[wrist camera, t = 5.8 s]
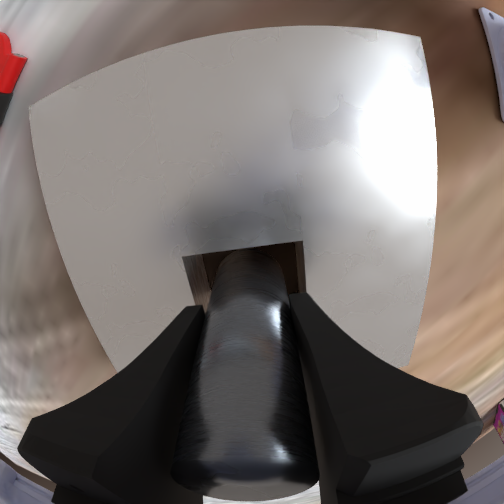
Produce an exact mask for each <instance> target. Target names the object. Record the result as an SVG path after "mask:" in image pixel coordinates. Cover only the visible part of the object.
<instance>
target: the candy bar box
mask: <svg viewBox="0 0 504 504" xmlns="http://www.w3.org/2000/svg"><path fill="white" fill-rule="evenodd" d="M493 425H494V427H495V429H496V430H497V432H498V434H499V436H500V438H501V439H502V442H503V443H504V399H503V400H502V401H501V402H500V403H499V404H498V408H497V412H496V417H495V421H494V424H493Z"/></svg>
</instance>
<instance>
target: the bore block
mask: <svg viewBox="0 0 504 504" xmlns="http://www.w3.org/2000/svg"><path fill="white" fill-rule="evenodd" d="M28 109H29V119H30V128H31V136H32V143H33V149H34V155H35V161H36V166H37V171H38V176H39V180H40V185H41V189H42V193H43V197H44V201H45V205H46V209H47V212H48V216H49V219H50V222H51V226H52V229H53V232H54V235H55V238H56V241H57V244H58V247H59V250H60V253H61V256H62V259H63V261H64V264H65V267H66V269H67V272H68V274H69V277H70V279H71V282H72V284H73V286H74V289H75V291H76V294H77V296H78V298H79V300H80V303H81V305H82V307H83V309H84V311H85V313H86V315H87V317H88V320H89V322H90V324H91V326H92V328H93V330H94V332H95V333H96V335H97V337H98V339H99V341H100V343H101V345H102V347H103V348H104V350H105V352H106V354H107V356H108V357H109V359H110V361H111V363H112V364H113V366H114V368H115V369H116V371H117V373H118V372H120V371H121V370H122V369H123V368H125V367H126V366H127V365H128V364H130V363H131V362H132V361H133V360H134V359H135V358H136V357H137V356H138V355H139V354H141V353H142V352H143V351H144V350H145V349H146V348H147V347H148V346H149V345H150V344H151V343H152V342H153V341H154V340H155V339H156V338H157V337H158V336H159V335H160V334H161V333H162V331H163V330H164V329H165V328H166V327H167V326H168V325H169V324H170V323H171V322H172V321H173V320H174V318H175V317H176V316H177V315H178V314H179V313H180V312H181V311H182V310H183V309H184V308H185V307H186V306H193V305H203V308H204V312H205V315H206V311H207V307H208V303H209V299H210V295H211V291H210V287H209V283H208V279H207V274H206V270H205V266H204V262H203V258H202V254H204V253H212V252H219V251H227V250H234V249H242V248H249V247H257V246H264V245H272V244H279V243H287V242H294V241H295V251H296V262H297V274H298V287H299V293H303V292H307V293H308V294H309V295H310V296H311V297H312V298H313V300H314V301H315V302H316V303H317V304H318V306H319V307H320V308H321V309H322V310H323V311H324V312H325V313H326V314H327V315H328V316H329V317H330V318H331V319H332V320H333V321H334V322H335V323H336V324H337V325H338V326H339V327H340V328H341V329H342V330H343V331H344V332H345V333H347V334H348V335H349V336H350V337H351V338H353V339H354V340H355V341H356V342H357V343H359V344H360V345H361V346H363V347H364V348H365V349H367V350H368V351H370V352H371V353H372V354H374V355H375V356H377V357H378V358H380V359H382V360H383V361H385V362H387V363H389V364H390V365H392V366H394V367H396V368H400V367H403V366H407V365H408V364H409V360H410V357H411V354H412V350H413V347H414V343H415V339H416V335H417V331H418V327H419V323H420V319H421V314H422V310H423V305H424V300H425V295H426V289H427V284H428V278H429V271H430V265H431V257H432V249H433V240H434V229H435V216H436V195H437V156H436V136H435V123H434V113H433V104H432V96H431V89H430V83H429V77H428V71H427V66H426V61H425V56H424V51H423V47H422V43H421V39H420V37H418V36H413V35H408V34H403V33H397V32H391V31H384V30H376V29H368V28H357V27H343V26H283V27H268V28H258V29H249V30H241V31H234V32H228V33H222V34H216V35H211V36H206V37H201V38H196V39H192V40H187V41H183V42H179V43H175V44H172V45H168V46H165V47H161V48H158V49H154V50H151V51H148V52H145V53H142V54H139V55H136V56H133V57H130V58H128V59H125V60H122V61H120V62H117V63H114V64H112V65H109V66H107V67H105V68H102V69H100V70H98V71H95V72H93V73H91V74H89V75H86V76H84V77H82V78H80V79H78V80H76V81H74V82H72V83H70V84H68V85H66V86H64V87H62V88H60V89H59V90H57V91H55V92H53V93H51V94H50V95H48V96H46V97H44V98H43V99H41V100H39V101H38V102H36V103H34V104H33V105H31V106H30V107H28ZM289 304H290V303H289Z"/></svg>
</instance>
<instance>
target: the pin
mask: <svg viewBox="0 0 504 504" xmlns="http://www.w3.org/2000/svg"><path fill="white" fill-rule="evenodd" d="M170 474H171V477H172V478H173V480H174V481H175V482H177V483H178V484H179V485H181V486H182V487H184V488H186V489H188V490H190V491H193V492H195V493H198V494H201V495H204V496H208V497H213V498H218V499H224V500H232V501H265V500H274V499H280V498H284V497H289V496H292V495H295V494H298V493H301V492H303V491H305V490H307V489H309V488H311V487H312V486H314V485H315V484H316V483H317V482H318V480H319V478H320V473H319V467H318V460H317V454H316V447H315V441H314V435H313V429H312V423H311V417H310V411H309V405H308V400H307V394H306V388H305V383H304V377H303V372H302V366H301V361H300V356H299V350H298V345H297V340H296V335H295V330H294V326H293V321H292V316H291V311H290V304H289V299H288V294H287V290H286V285H285V280H284V275H283V271H282V268H281V266H280V264H279V263H278V261H277V260H276V259H275V258H274V257H273V256H272V255H270V254H268V253H267V252H265V251H262V250H259V249H252V248H246V249H240V250H237V251H234V252H232V253H231V254H229V255H228V256H226V257H225V258H224V259H223V260H222V262H221V263H220V264H219V266H218V269H217V272H216V276H215V279H214V283H213V287H212V291H211V295H210V299H209V303H208V307H207V311H206V315H205V319H204V323H203V327H202V331H201V335H200V339H199V343H198V347H197V352H196V356H195V360H194V364H193V368H192V373H191V377H190V381H189V386H188V390H187V395H186V399H185V404H184V408H183V413H182V418H181V422H180V427H179V432H178V436H177V441H176V446H175V451H174V456H173V461H172V466H171V471H170Z"/></svg>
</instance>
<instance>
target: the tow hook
mask: <svg viewBox="0 0 504 504" xmlns="http://www.w3.org/2000/svg"><path fill="white" fill-rule="evenodd" d="M26 60H27V58H26V57H25V56H23V55H20V54H15V53H14V54H13V53H12V54H11V44H10V40H9V38H8V36H7V35H6V34H5V33H2V32H0V125H1V124H2V121H3V119H4V116H5V113H6V110H7V107H8V105H9V102H10V100H11V97H12V94H13V93H12V91H13V89H14V86H15V84H16V82H17V79H18V77H19V75H20V73H21V71H22V69H23V66H24V64H25V62H26Z"/></svg>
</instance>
